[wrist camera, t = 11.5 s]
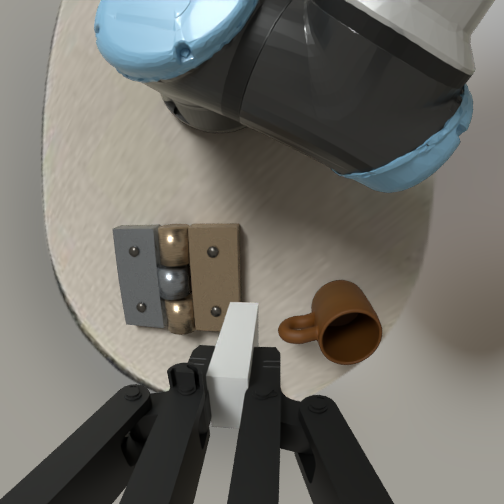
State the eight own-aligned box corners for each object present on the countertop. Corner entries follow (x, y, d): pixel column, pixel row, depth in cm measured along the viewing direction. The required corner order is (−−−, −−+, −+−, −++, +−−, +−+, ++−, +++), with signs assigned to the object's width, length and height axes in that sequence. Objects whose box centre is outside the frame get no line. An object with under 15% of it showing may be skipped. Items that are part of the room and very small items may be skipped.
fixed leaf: (163, 224, 41) (153, 230, 38) (239, 223, 41) (235, 230, 37) (173, 320, 45) (164, 333, 41) (241, 323, 44) (238, 337, 41)
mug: (278, 330, 44) (278, 369, 35) (277, 279, 42) (277, 310, 33) (361, 326, 43) (378, 363, 34) (366, 276, 41) (387, 306, 32)
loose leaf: (121, 225, 42) (107, 231, 38) (188, 224, 41) (179, 230, 37) (133, 316, 46) (122, 329, 42) (195, 321, 45) (188, 335, 41)
